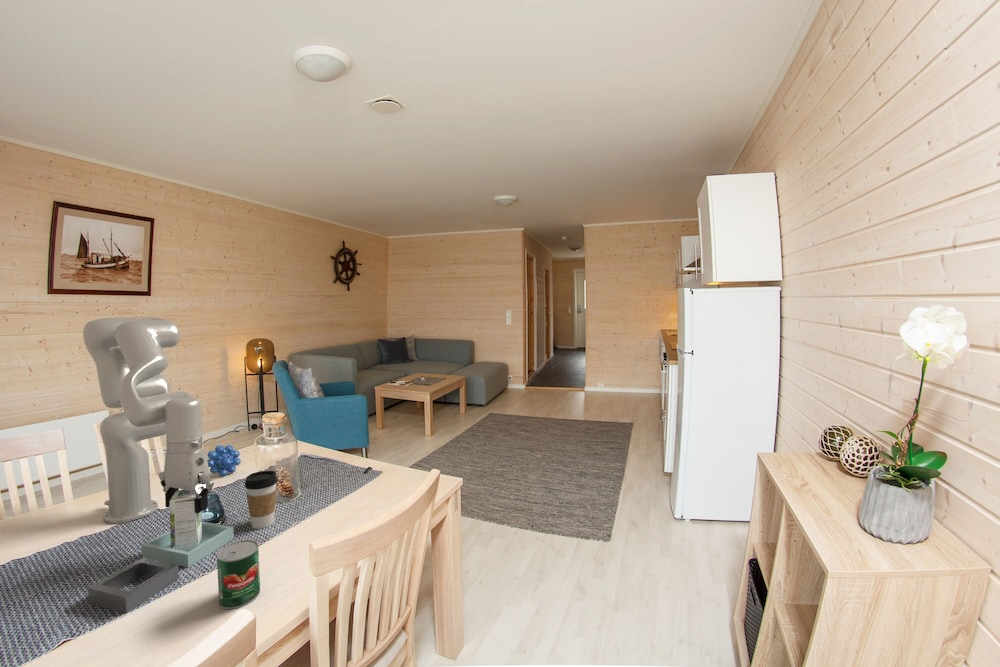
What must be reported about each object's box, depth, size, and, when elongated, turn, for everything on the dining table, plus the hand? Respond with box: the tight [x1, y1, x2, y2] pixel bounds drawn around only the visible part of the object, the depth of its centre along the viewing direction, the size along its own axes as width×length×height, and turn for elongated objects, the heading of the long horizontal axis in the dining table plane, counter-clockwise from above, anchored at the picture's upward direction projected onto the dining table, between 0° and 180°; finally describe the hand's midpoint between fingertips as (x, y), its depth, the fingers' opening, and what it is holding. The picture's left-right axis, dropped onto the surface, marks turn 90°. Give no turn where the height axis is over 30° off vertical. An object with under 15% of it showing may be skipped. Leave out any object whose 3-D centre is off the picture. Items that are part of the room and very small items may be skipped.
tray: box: [141, 520, 235, 568], centre depth 111 cm, size 15×13×3 cm
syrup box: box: [169, 488, 203, 551], centre depth 110 cm, size 6×6×14 cm
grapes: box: [207, 444, 242, 477], centre depth 154 cm, size 12×7×12 cm, turn 146°
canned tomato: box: [216, 539, 261, 610], centre depth 92 cm, size 8×8×11 cm
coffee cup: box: [244, 470, 278, 530], centre depth 122 cm, size 8×8×15 cm
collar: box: [87, 557, 179, 614], centre depth 94 cm, size 11×11×4 cm
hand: (186, 507), depth 110 cm, fingers open, 9 cm apart
